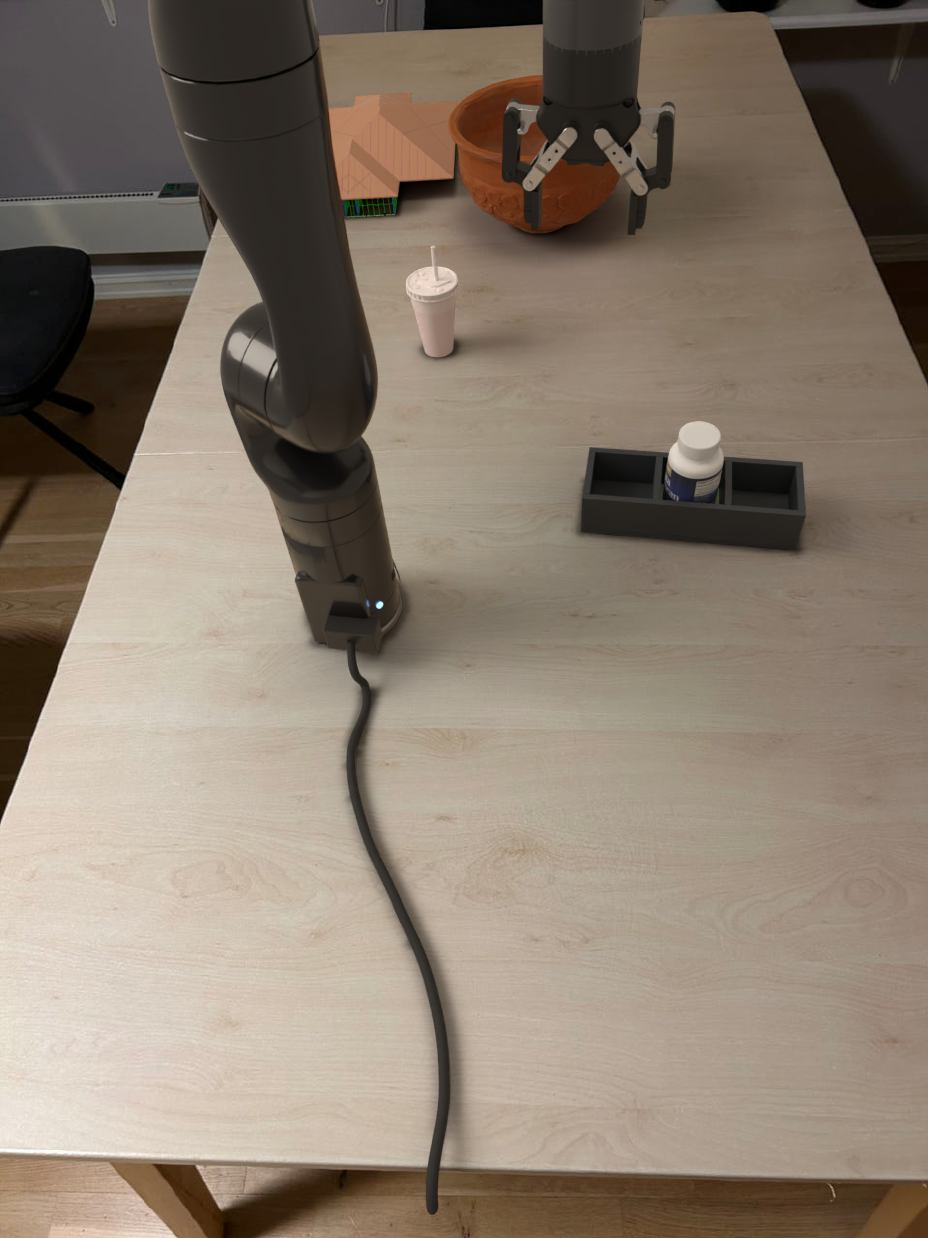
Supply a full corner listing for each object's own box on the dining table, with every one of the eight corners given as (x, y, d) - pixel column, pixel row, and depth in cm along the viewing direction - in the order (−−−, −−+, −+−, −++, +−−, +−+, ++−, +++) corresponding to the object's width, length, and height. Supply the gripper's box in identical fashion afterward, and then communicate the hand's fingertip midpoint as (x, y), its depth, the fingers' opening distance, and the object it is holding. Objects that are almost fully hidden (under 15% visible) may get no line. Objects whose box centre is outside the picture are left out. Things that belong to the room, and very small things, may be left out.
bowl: (658, 236, 132) (669, 127, 120) (495, 283, 127) (490, 174, 115) (580, 162, 146) (583, 58, 135) (432, 201, 142) (422, 98, 130)
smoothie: (458, 365, 117) (449, 263, 106) (408, 362, 118) (394, 260, 107) (468, 334, 120) (460, 232, 110) (420, 331, 122) (408, 230, 111)
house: (459, 113, 159) (455, 61, 153) (454, 214, 139) (450, 159, 133) (327, 121, 161) (318, 70, 155) (302, 222, 141) (291, 168, 134)
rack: (795, 550, 94) (806, 515, 90) (580, 532, 98) (582, 498, 94) (792, 496, 99) (802, 461, 95) (587, 481, 103) (589, 446, 99)
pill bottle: (651, 498, 99) (660, 426, 91) (694, 481, 100) (707, 409, 92) (679, 531, 95) (691, 459, 88) (724, 513, 97) (739, 441, 89)
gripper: (491, 44, 70) (498, 246, 82) (685, 47, 67) (661, 255, 80) (508, 6, 74) (512, 203, 87) (690, 7, 72) (667, 210, 84)
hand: (584, 228), depth 83 cm, fingers open, 8 cm apart
